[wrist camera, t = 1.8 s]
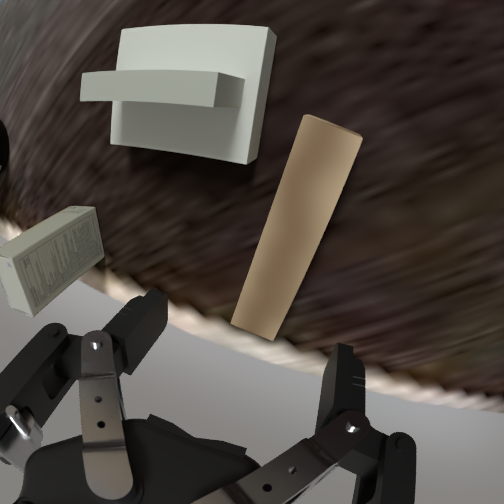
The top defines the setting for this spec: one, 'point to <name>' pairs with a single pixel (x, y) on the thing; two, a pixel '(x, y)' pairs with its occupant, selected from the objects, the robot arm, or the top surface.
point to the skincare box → (49, 258)
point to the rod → (295, 223)
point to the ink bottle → (3, 147)
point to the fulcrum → (188, 89)
